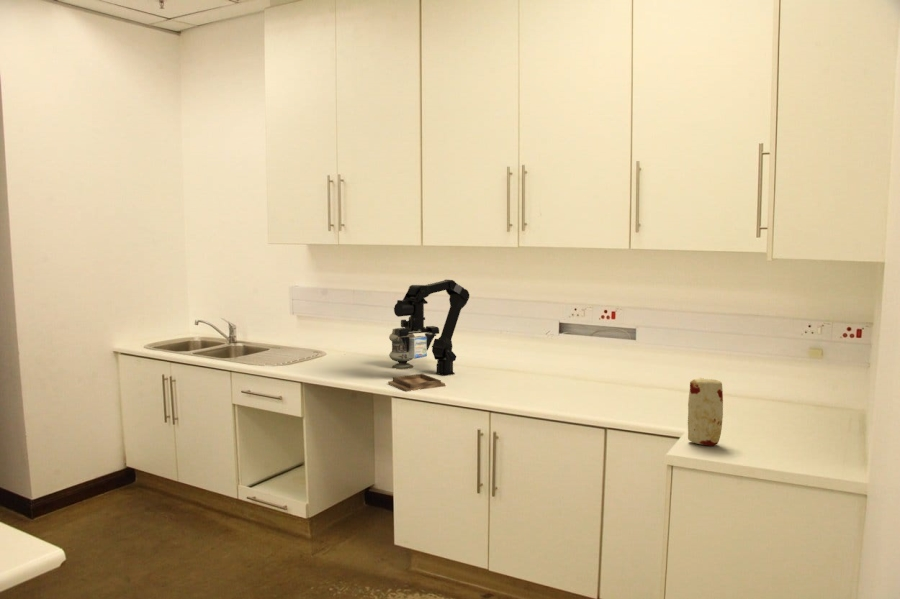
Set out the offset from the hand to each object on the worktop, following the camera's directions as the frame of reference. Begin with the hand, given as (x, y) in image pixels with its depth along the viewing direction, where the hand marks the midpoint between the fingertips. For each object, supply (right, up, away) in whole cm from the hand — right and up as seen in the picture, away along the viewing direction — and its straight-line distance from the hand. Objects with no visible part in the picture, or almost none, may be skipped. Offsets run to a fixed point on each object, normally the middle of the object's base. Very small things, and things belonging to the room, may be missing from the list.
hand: (417, 351), depth 299 cm
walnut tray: (0, -13, -9) cm, 16 cm away
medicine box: (0, -3, 0) cm, 3 cm away
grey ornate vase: (-8, -10, +28) cm, 31 cm away
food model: (+90, -21, -90) cm, 129 cm away
